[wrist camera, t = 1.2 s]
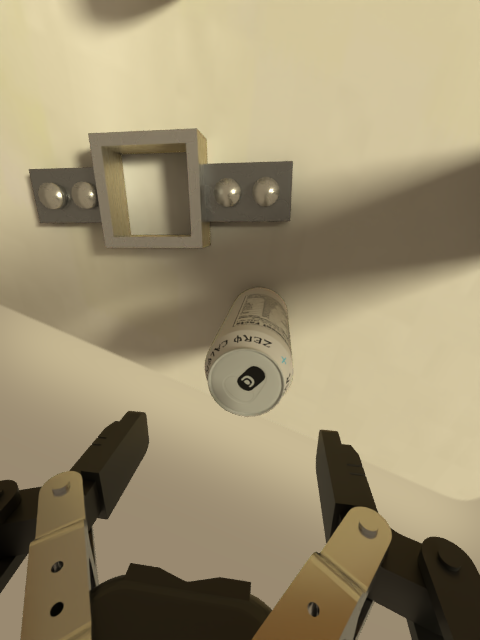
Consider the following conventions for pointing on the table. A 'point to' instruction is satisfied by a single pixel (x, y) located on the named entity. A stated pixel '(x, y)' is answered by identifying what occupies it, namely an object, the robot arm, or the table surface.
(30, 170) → the mounting bracket
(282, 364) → the energy drink can
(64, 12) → the table surface
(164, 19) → the table surface
